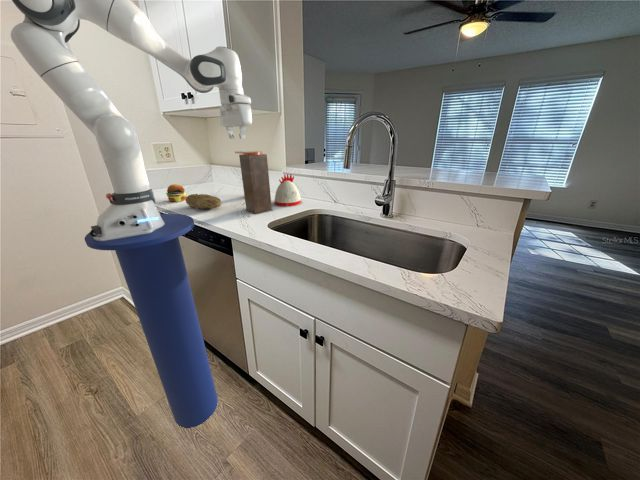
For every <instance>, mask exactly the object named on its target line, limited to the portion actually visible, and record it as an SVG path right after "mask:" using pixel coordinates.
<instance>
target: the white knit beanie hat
mask: <svg viewBox="0 0 640 480" xmlns="http://www.w3.org/2000/svg"><path fill="white" fill-rule="evenodd" d="M280 178H281V179H278V182H279V185H278V186H277V188H276V190H275V195H274V204H275V205H276V206H278V207H293V206H297V205H300V204H301V203H302V198H301V194H300V192H299V190H298V189H299V188H298V187H297V186H296V184H295V183H293V182H294V179H295V176H292V174H291V173H290V174H288V173H286V174H284V175H283V176H281V177H280Z"/></svg>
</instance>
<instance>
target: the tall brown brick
mask: <svg viewBox="0 0 640 480" xmlns="http://www.w3.org/2000/svg"><path fill="white" fill-rule="evenodd" d="M238 157H239V165H240V173H241V181H242V187H243V195H244V203H245V210H246V211H247V212H249V213H252V214H255V215H257V214H261V213H266V212H270V211H273V208H272V207H273V206H272V195H271V186H270V174H269V164H268V163H269V162H268V155H267V154H266V153H262V154H261V155H243V154H239V156H238Z"/></svg>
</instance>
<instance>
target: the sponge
mask: <svg viewBox="0 0 640 480" xmlns="http://www.w3.org/2000/svg"><path fill="white" fill-rule="evenodd" d="M221 202H222V201H221V199H220V198H219V197H217V196H214V195H211V194H207V193H205V194H203V193H201V194H200V193H192V194H191V193H190V194H187V196H186V199H185V203H186V204H187V205H188V207H189V206H190V207H193V208H196V209H202V210H206V209H207V210H209V209H211V210H212V209H215V208H220V206H221V205H222V203H221Z"/></svg>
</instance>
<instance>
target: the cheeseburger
mask: <svg viewBox="0 0 640 480" xmlns="http://www.w3.org/2000/svg"><path fill="white" fill-rule="evenodd" d="M185 190H186V189H185V188H184V186H183V185H181V184H170V185H169V186H168V187H167V189H166V193H165V194H166V197H167V199H168V201H169V202H175V203H180V202H182V201H186V197H187V196H188V194H187V192H186V191H185Z"/></svg>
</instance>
